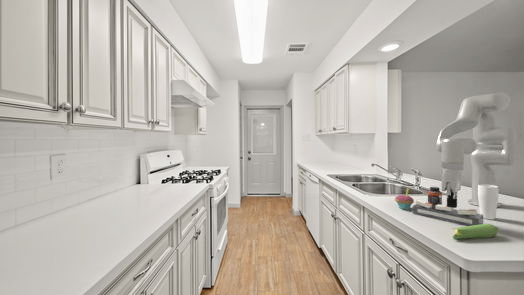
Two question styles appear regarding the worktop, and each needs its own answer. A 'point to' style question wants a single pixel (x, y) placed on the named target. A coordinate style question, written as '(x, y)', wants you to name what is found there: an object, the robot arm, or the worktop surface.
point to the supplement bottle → (435, 196)
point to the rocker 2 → (443, 207)
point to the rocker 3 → (467, 211)
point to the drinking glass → (488, 200)
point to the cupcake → (404, 201)
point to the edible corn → (476, 231)
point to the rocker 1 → (424, 203)
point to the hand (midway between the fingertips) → (451, 206)
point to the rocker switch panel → (448, 215)
